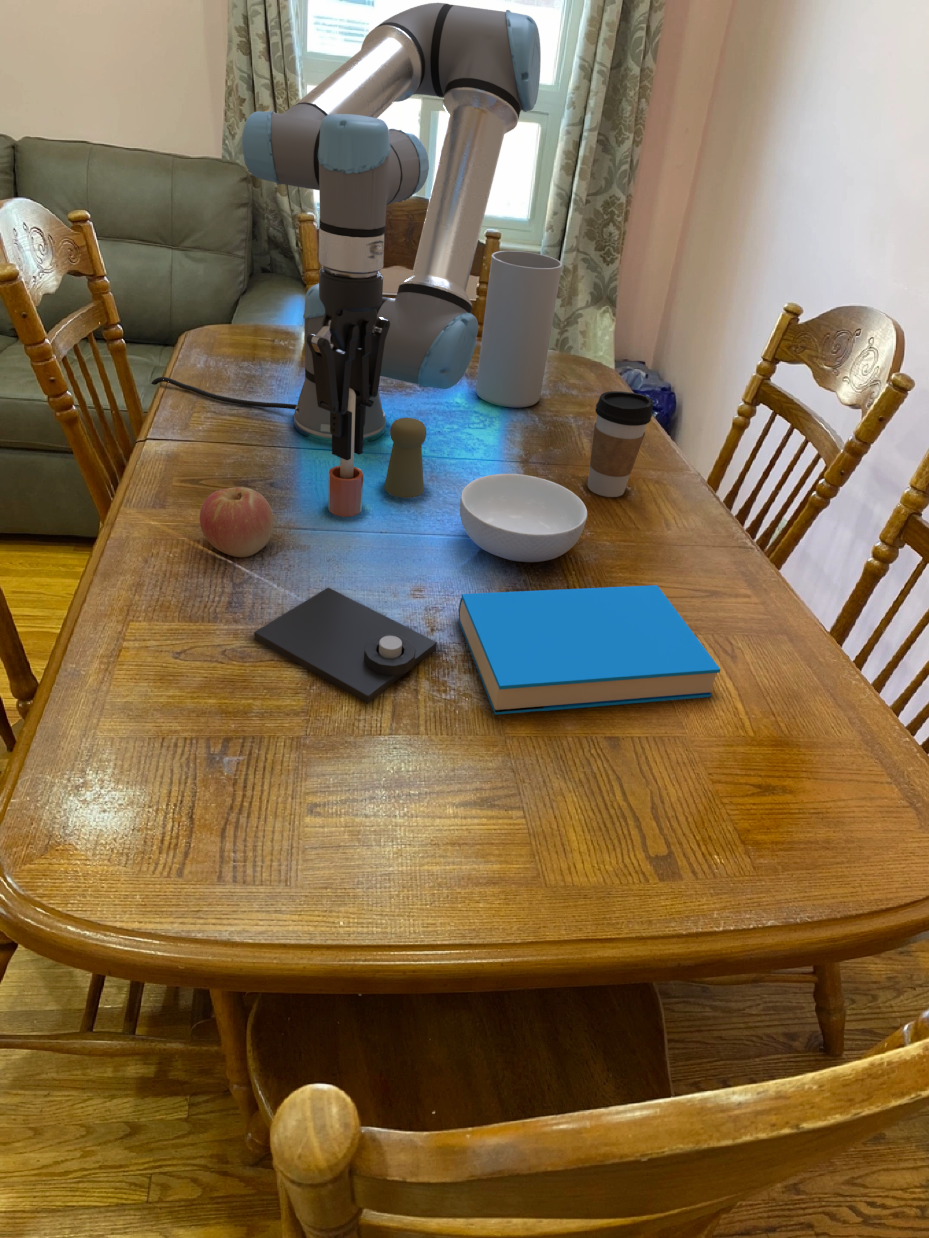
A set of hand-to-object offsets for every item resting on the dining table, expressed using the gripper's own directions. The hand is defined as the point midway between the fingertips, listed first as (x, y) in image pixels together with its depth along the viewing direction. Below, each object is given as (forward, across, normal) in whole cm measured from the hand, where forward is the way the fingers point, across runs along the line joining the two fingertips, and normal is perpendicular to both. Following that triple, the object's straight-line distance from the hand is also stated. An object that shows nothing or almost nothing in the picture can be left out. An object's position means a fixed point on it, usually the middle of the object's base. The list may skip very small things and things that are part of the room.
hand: (347, 453), depth 110 cm
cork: (+9, +11, -2) cm, 14 cm away
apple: (+9, -17, +3) cm, 20 cm away
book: (+9, -7, -41) cm, 43 cm away
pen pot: (+9, 0, 0) cm, 9 cm away
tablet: (+8, -23, -20) cm, 32 cm away
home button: (+6, -23, -26) cm, 36 cm away
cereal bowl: (+9, +9, -23) cm, 26 cm away
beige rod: (+7, 0, 0) cm, 7 cm away
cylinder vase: (+9, +57, +8) cm, 58 cm away
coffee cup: (+9, +35, -24) cm, 43 cm away
